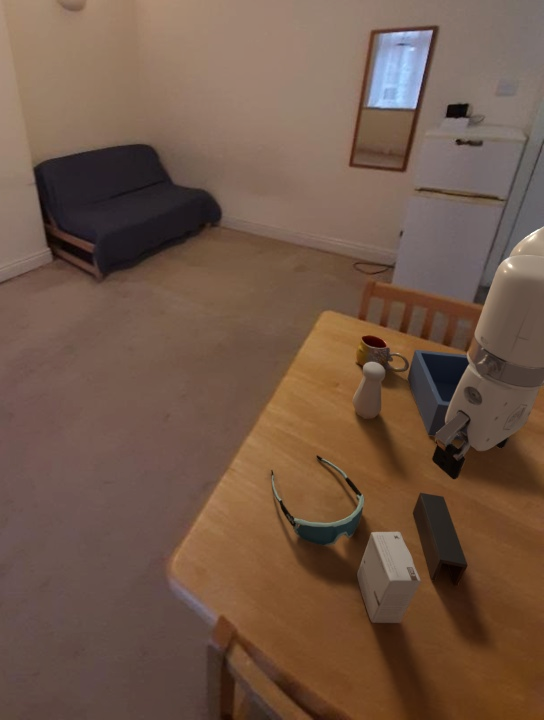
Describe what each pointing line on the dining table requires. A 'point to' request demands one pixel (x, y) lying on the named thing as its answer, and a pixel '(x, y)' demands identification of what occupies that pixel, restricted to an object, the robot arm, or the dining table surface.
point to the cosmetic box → (387, 577)
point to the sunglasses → (325, 531)
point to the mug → (377, 353)
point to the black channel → (438, 537)
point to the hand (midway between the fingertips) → (468, 454)
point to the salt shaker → (369, 391)
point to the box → (435, 385)
